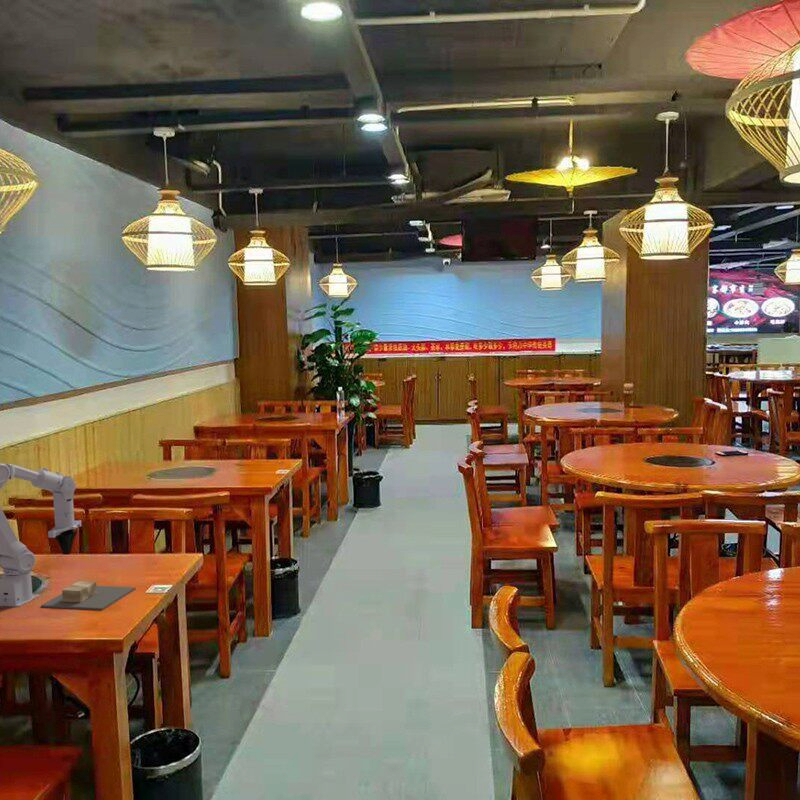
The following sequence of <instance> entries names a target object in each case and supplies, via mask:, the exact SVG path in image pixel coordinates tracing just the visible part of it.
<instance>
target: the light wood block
mask: <svg viewBox="0 0 800 800" xmlns="http://www.w3.org/2000/svg"><path fill="white" fill-rule="evenodd" d="M96 586H97V581H85V580H84V581H83V580H82V581H81V580H80V581H79V580H78V581H77V582H75V583H73V584H71V585H69V586H67V587H65V588H63V589H62V590H61V594H62V597H63V601H64V602H82V601H84V600H86V599H88V598H89V597H91V596H93V595H95V594H96V593H97V587H96Z"/></svg>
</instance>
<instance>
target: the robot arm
mask: <svg viewBox="0 0 800 800" xmlns="http://www.w3.org/2000/svg"><path fill="white" fill-rule="evenodd" d="M49 470H50V469H49V468H45V467H43V468H39V469H36V470H31V469H28V468H25V467H22V466H19V465H17V464H13V463H4V462H0V491H1V490H2V489H3V487H4V486H5V485H6V483H8V481H9V480H13V478H14V479H20V480H23V481H27V482H28V481H29V482H30V483H31V485H32V486H33V487H34V488H37V489H38V488H39V489H42V490H46V491H49V492H50V493H52V495H53V496H52V498H53V509H54V510H53V512H54V513H53V514H54V524H55V525H54V527H53V528H51V529H50V530H49V531H47V537H48V538H49V539H50V538H53V539H54V538H55V540H56V541H57V544H58V546H59V548H60V550H61V552H62V555H70V554H72V549H73V545H74V541H75V538H76V536H77V534H78V531H77V529H78V528H80V527H82V526H83V525H82V520H81V519H80V520H79V519H78V520H75V509H74V497H75V494H74V493H75V491H76V487H77V482H75V480H74V478H73V477H72V476H69V475H63V474H62V473H60V472H52V471H49ZM35 565H36V556H35V554H34V553H33V552H32V551H31V550H29V549H28V547H27V545H25V544H23V543H22V542H21V541H19V539H18V537H17V536H16V534H15V531H14V529H13V528H12V526H11V523H10V522H9V520H8V518H7V517H6V515H5V513H4V510H3V509H2V507H1V506H0V569H2V573H3V576H2V578H0V607H11V608H12V607H13V608H15V607H18V608H19V607H21V606H23V605H25V604H27V603H28V602H30V601H33V600H35V599H36V598H38V597H40V595H39V594H37V593H35V594H34V593H33V584H32V582H33V581H32V571H33V568H34V566H35Z"/></svg>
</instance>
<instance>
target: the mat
mask: <svg viewBox="0 0 800 800" xmlns="http://www.w3.org/2000/svg"><path fill="white" fill-rule="evenodd" d="M96 587H97V593H96V594H95V595H93V596H91V597H89V598H88V599H86V600H84V601H82V602H64V601H63V597H62V593H61V594H59V595H57V596H55V597H53V598H51V599H50V600H48V601H45V603H43V604H40V607H41V608H49V609H67V610H68V609H69V610H71V609H74V610H89V611H90V610H91V611H94V610H95V611H104V610H105V609H106V608H108V607H110V606H112V605H113V604H114V603H116V602H118V601H119V600H121V599H122V598H124V597H126V596H127V595H129V594H130V593H133V591H135V590H136V587H135V586H132V587H131V586H115V585H114V586H113V585H111V586H110V585H108V586H107V585H96Z"/></svg>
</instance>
